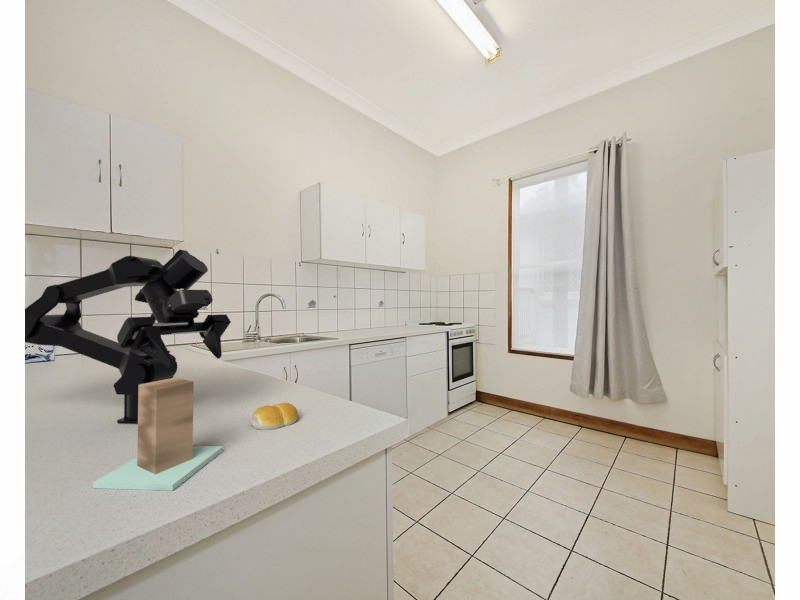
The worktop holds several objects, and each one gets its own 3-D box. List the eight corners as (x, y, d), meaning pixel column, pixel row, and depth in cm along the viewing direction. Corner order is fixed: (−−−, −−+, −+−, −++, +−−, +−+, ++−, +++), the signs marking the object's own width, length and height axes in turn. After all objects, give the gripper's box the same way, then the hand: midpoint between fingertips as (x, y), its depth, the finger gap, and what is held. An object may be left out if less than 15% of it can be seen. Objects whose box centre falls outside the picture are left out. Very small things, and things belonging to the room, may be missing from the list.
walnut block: (137, 465, 46) (138, 384, 46) (174, 451, 51) (175, 377, 51) (155, 474, 44) (156, 389, 44) (192, 458, 48) (193, 381, 48)
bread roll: (304, 422, 66) (305, 403, 66) (262, 435, 60) (262, 414, 60) (285, 412, 72) (285, 395, 72) (245, 423, 65) (245, 404, 65)
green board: (93, 488, 42) (93, 482, 42) (159, 449, 53) (159, 444, 53) (172, 490, 42) (172, 484, 42) (222, 451, 52) (222, 446, 52)
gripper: (125, 271, 55) (158, 338, 50) (226, 279, 72) (258, 329, 67) (104, 315, 59) (133, 381, 54) (205, 312, 75) (234, 362, 70)
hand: (197, 360), depth 61 cm, fingers open, 9 cm apart
